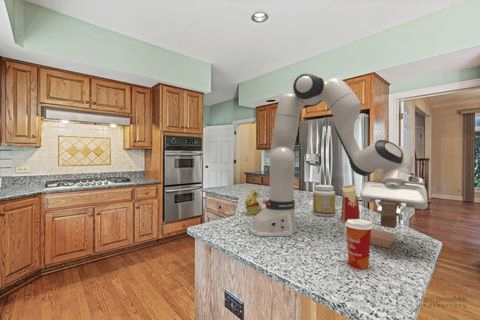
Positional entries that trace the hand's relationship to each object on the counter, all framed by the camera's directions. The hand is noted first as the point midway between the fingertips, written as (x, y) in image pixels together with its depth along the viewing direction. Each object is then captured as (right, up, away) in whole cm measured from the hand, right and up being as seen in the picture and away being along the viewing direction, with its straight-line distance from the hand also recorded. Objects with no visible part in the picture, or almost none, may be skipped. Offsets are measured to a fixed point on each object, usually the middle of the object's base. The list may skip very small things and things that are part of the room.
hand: (388, 213), depth 81 cm
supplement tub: (-2, -14, +58) cm, 59 cm away
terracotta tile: (+5, -15, +15) cm, 22 cm away
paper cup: (-13, -15, -5) cm, 21 cm away
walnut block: (0, -4, +1) cm, 4 cm away
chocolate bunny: (-43, -14, +58) cm, 73 cm away
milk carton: (+7, -14, +43) cm, 46 cm away
